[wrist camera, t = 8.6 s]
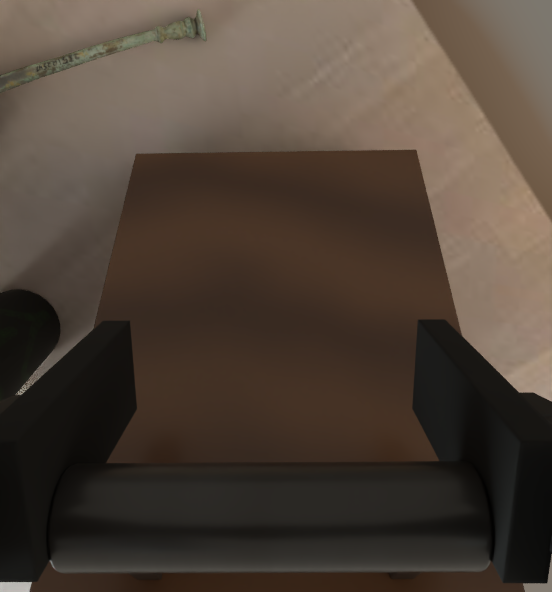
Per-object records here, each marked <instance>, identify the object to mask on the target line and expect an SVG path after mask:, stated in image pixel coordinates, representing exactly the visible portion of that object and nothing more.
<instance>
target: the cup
mask: <svg viewBox="0 0 552 592" xmlns="http://www.w3.org/2000/svg"><path fill="white" fill-rule="evenodd" d="M59 336H60V323H59V319H58V316H57V314H56V312H55V310H54V308H53V307H52V306H51V305H50V304H49V303H48V302H47V301H46V300H45V299H44V298H42V297H41V296H40V295H38V294H35V293H33V292H31V291H26V290H10V291H6V292H3V293H0V401H2V400H4V399H6V398H8V397H10V396H12V395H15V394H16V393H17V392H18V391H19V390H20V389H21V387H22V386H23V385H24V384H25V383H26V381H27V380H28V379H29V378H30V377H31V375H32V374H33V373H34V372H35V371H36V369H37V368H38V367H39V366H40V365H41V363H42V362H43V361H44V360H45V359H46V358H47V356H48V355H49V354H50V353H51V352H52V350H53V349H54V348H55V346H56V344H57V342H58V340H59Z"/></svg>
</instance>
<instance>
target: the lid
mask: <svg viewBox="0 0 552 592" xmlns="http://www.w3.org/2000/svg"><path fill="white" fill-rule="evenodd" d="M418 319H445V320H446V321H447V322H448V323H449V324H450V325H451V326H452V327H453V328H454V329H455V330H456V331H457V332H458V333H459V334H460V335H461V336H462V334H461V330H460V326H459V322H458V318H457V314H456V310H455V306H454V302H453V298H452V293H451V289H450V285H449V281H448V277H447V273H446V269H445V265H444V261H443V257H442V253H441V249H440V245H439V241H438V237H437V232H436V228H435V224H434V220H433V216H432V212H431V208H430V204H429V200H428V196H427V192H426V188H425V184H424V180H423V176H422V171H421V167H420V163H419V159H418V155H417V151H416V150H368V151H297V152H226V153H155V154H136V156H135V160H134V164H133V169H132V173H131V177H130V181H129V185H128V189H127V193H126V197H125V201H124V206H123V210H122V214H121V218H120V222H119V226H118V230H117V234H116V238H115V243H114V247H113V251H112V255H111V259H110V263H109V267H108V271H107V275H106V280H105V284H104V288H103V292H102V296H101V300H100V304H99V308H98V312H97V317H96V321H95V325H94V329H95V328H96V327H97V326H98V325H99V324H100V323H101V322H102V321H129V320H130V327H131V339H132V352H133V364H134V376H135V389H136V401H137V410H136V412H135V413H134V415H133V417H132V419H131V420H130V422H129V424H128V426H127V427H126V429H125V431H124V432H123V434H122V436H121V438H120V439H119V441H118V443H117V445H116V446H115V448H114V450H113V452H112V453H111V455H110V457H109V458H108V460H107V462H106V463H77V464H74V465H71V466H70V467H68V468H67V469H66V471H65V472H64V473H63V475H62V477H61V478H60V480H59V482H58V485H57V487H56V490H55V493H54V496H53V500H52V504H51V508H50V514H49V520H48V532H47V543H48V553H49V558H50V561H49V562H48V564H47V566H46V568H45V569H44V571H43V573H42V574H41V576H40V578H39V580H38V581H37V582H32V584H31V588H30V592H525V590H524V586H523V583H503V582H502V580H501V578H500V577H499V575H498V573H497V571H496V569H495V567H494V565H493V563H492V561H491V558H492V552H493V521H492V514H491V508H490V503H489V499H488V495H487V492H486V488H485V486H484V483H483V480H482V478H481V476H480V474H479V472H478V470H477V469H476V467H475V466H474V465H473V464H471V463H469V462H467V461H439V459H438V457H437V455H436V453H435V451H434V449H433V448H432V446H431V444H430V442H429V440H428V438H427V436H426V434H425V432H424V430H423V428H422V426H421V424H420V422H419V421H418V419H417V417H416V415H415V413H414V411H413V409H412V404H413V388H414V372H415V357H416V341H417V325H418Z"/></svg>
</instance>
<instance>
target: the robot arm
mask: <svg viewBox="0 0 552 592" xmlns="http://www.w3.org/2000/svg"><path fill="white" fill-rule="evenodd" d="M412 409H413V411H414V413H415V415H416V417H417V419H418V421H419V422H420V424H421V426H422V428H423V430H424V432H425V434H426V436H427V438H428V440H429V442H430V444H431V446H432V448H433V449H434V451H435V453H436V455H437V457H438V459H439V461H467V462H469V463H471V464H473V465H474V466H475V467H476V469H477V470H478V472H479V474H480V476H481V478H482V480H483V483H484V486H485V488H486V492H487V495H488V499H489V503H490V508H491V514H492V521H493V552H492V558H491V561H492V563H493V565H494V567H495V569H496V571H497V573H498V575H499V577H500V578H501V580H502V582H503V583H547V581H548V574H549V567H550V560H551V554H552V402H551V401H549V400H547V399H545V398H543V397H541V396H539V395H537V394H535V393H519V392H518V391H517V390H516V389H515V388H514V387H513V386H512V385H511V384H510V383H509V382H508V381H507V380H506V379H505V378H504V377H503V376H502V375H501V374H500V373H499V372H498V371H497V370H496V369H495V368H494V367H493V366H492V365H491V364H490V363H489V362H488V361H487V360H486V359H485V358H484V357H483V356H482V355H481V354H480V353H479V352H478V351H477V350H475V349H474V348H473V347H472V346H471V345H470V344H469V343H468V342H467V341H466V340H465V339H464V338H463V337H462V336H461V335H460V334H459V333H458V332H457V331H456V330H455V329H454V328H453V327H452V326H451V325H450V324H449V323H448V322H447V321H446V320H445V319H418V325H417V341H416V357H415V372H414V388H413V404H412ZM136 410H137V401H136V389H135V376H134V364H133V352H132V339H131V327H130V320H129V321H102V322H101V323H100V324H99V325H98V326H97V327H96V328H95V329H93V330H92V331H91V332H90V333H89V334H88V335H87V336H86V337H85V338H84V339H82V340H81V341H80V342H79V343H78V344H77V345H76V346H75V347H74V348H73V349H71V350H70V351H69V352H68V353H67V354H66V355H65V356H64V357H63V358H62V359H60V360H59V361H58V362H57V363H56V364H55V365H54V366H53V367H52V368H51V369H49V370H48V371H47V372H46V373H45V374H44V375H43V376H42V377H41V378H40V379H38V380H37V381H36V382H35V383H34V384H33V385H32V386H31V387H30V388H29V389H27V390H26V391H25V392H24V393H23V394H22V395H12V396H10V397H8V398H6V399H4V400H2V401H0V582H37V581H38V580H39V578H40V576H41V574H42V573H43V571H44V569H45V568H46V566H47V564H48V562H49V561H50V558H49V553H48V543H47V532H48V520H49V514H50V508H51V504H52V500H53V496H54V493H55V490H56V487H57V485H58V482H59V480H60V478H61V477H62V475H63V473H64V472H65V471H66V469H67V468H68V467H70V466H71V465H74V464H77V463H106V462H107V460H108V458H109V457H110V455H111V453H112V452H113V450H114V448H115V446H116V445H117V443H118V441H119V439H120V438H121V436H122V434H123V432H124V431H125V429H126V427H127V426H128V424H129V422H130V420H131V419H132V417H133V415H134V413H135V412H136Z"/></svg>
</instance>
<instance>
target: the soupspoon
mask: <svg viewBox="0 0 552 592" xmlns="http://www.w3.org/2000/svg"><path fill="white" fill-rule="evenodd" d="M196 34H199V35H200V36H201V38H202V39H203V40H204V41H206V32H205V27H204V23H203V19H202V15H201V13H200V10H199V9H198V10H197V14H196V18H195V19H194V20H193V19H192V18H190V17H187V18H185V20H184V21H183V22H181V21H178V22H174V23H171V24H169V25H168V26H167V27H165V28H163V27H160V26H157V27H156V28H155V29H154V30H151V31H146V32H142V33H138V34H134V35H130V36H126V37H123V38H118V39H115V40H112V41H108V42H105V43H102V44H98V45H95V46H92V47H89V48H86V49H82V50H79V51H76V52H73V53H69V54H67V55H63V56H60V57H57V58H54V59H51V60H47V61H44V62H41V63H37V64H34V65H30V66H27V67H24V68H21V69H18V70H15V71H12V72H9V73H6V74H3V75H0V93H2V92H4V91H6V90H9V89H12V88H14V87H17V86H20V85H22V84H25V83H28V82H30V81H33V80H36V79H39V78H41V77H45V76H48V75H50V74H54V73H57V72H60V71H63V70H66V69H69V68H71V67H74V66H77V65H80V64H83V63H85V62H89V61H92V60H95V59H97V58H101V57H104V56H107V55H110V54H113V53H116V52H120V51H123V50H127V49H130V48H133V47H137V46H140V45H142V44H145V43H149V42H152V41H158V42H160V43H162V42H163V41H164V40H165V39H167V38H168V39H176V40H177V39H181V38H184V37H185V36H188V37H190V38H194V37H195V35H196Z"/></svg>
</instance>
